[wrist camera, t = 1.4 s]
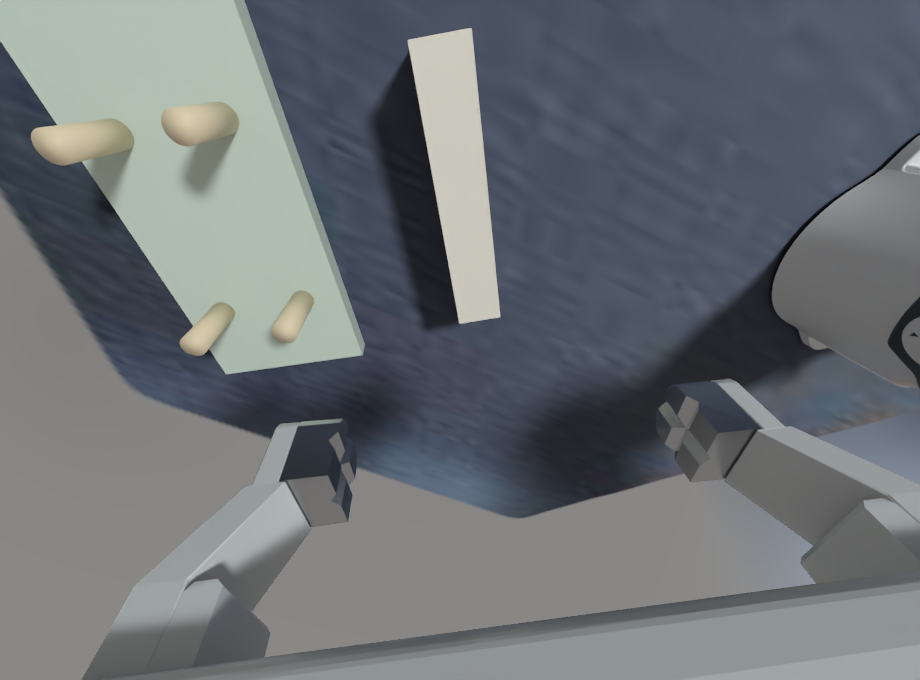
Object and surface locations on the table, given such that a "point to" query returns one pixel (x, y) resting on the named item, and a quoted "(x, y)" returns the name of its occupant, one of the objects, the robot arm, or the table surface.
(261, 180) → the rack
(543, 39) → the table surface
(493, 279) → the off-white rectangular block
